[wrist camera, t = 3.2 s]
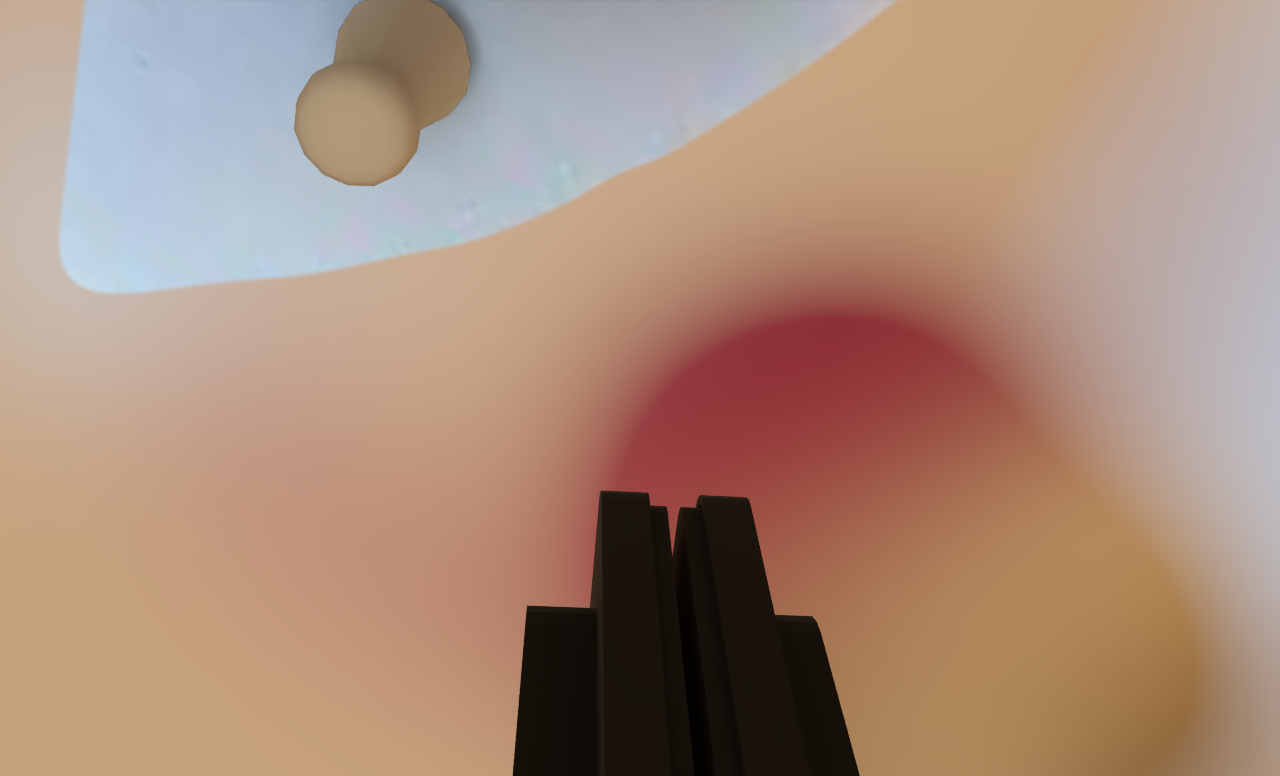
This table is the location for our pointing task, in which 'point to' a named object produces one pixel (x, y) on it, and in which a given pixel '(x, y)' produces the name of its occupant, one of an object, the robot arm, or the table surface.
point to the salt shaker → (381, 89)
